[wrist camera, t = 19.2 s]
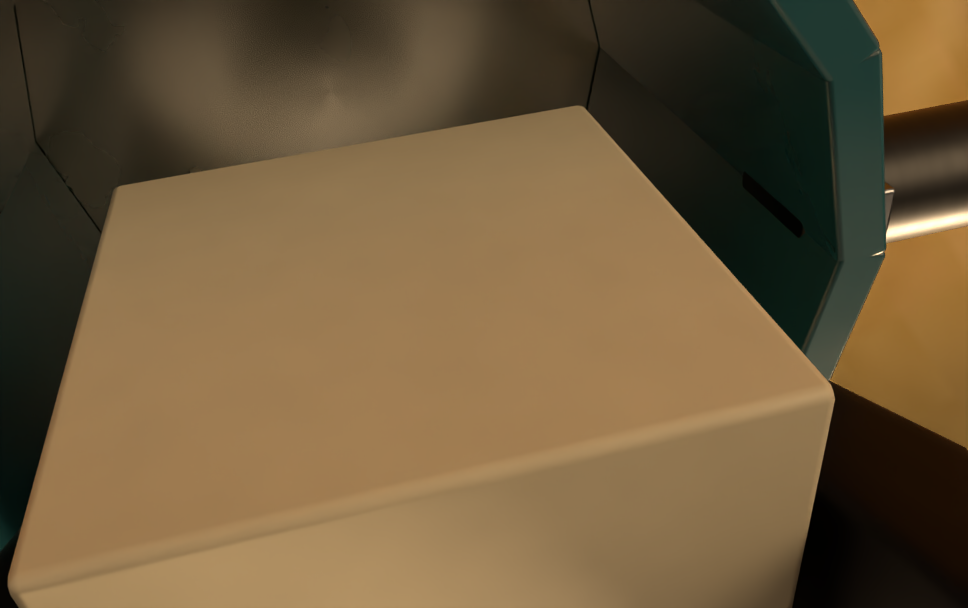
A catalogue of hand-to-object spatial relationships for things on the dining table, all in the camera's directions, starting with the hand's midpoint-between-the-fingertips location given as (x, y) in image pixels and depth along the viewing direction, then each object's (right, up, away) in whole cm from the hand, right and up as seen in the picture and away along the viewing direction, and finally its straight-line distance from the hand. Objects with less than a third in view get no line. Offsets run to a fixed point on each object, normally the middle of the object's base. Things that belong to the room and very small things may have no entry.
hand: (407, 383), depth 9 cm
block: (0, +1, +1) cm, 1 cm away
